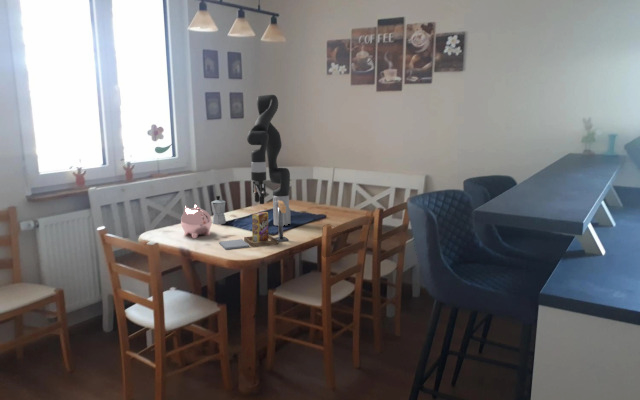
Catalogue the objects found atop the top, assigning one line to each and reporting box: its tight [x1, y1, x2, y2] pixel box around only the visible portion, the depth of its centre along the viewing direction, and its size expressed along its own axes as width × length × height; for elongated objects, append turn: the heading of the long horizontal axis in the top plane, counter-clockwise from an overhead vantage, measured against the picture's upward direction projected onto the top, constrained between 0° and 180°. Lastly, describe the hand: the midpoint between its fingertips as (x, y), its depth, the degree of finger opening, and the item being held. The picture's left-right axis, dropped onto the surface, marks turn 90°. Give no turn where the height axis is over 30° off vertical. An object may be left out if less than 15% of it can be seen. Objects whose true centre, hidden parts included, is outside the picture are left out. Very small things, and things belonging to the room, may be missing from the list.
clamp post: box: [274, 207, 289, 243], centre depth 262 cm, size 6×6×18 cm
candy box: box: [251, 211, 269, 242], centre depth 258 cm, size 9×4×15 cm, turn 151°
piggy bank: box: [180, 204, 213, 239], centre depth 275 cm, size 15×18×16 cm
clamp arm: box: [277, 200, 286, 213], centre depth 252 cm, size 21×3×3 cm, turn 10°
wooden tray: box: [243, 234, 279, 248], centre depth 259 cm, size 14×14×2 cm
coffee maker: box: [210, 195, 227, 225], centre depth 301 cm, size 15×9×18 cm, turn 161°
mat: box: [218, 238, 250, 251], centre depth 254 cm, size 12×14×1 cm
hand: (259, 202), depth 256 cm, fingers open, 8 cm apart
